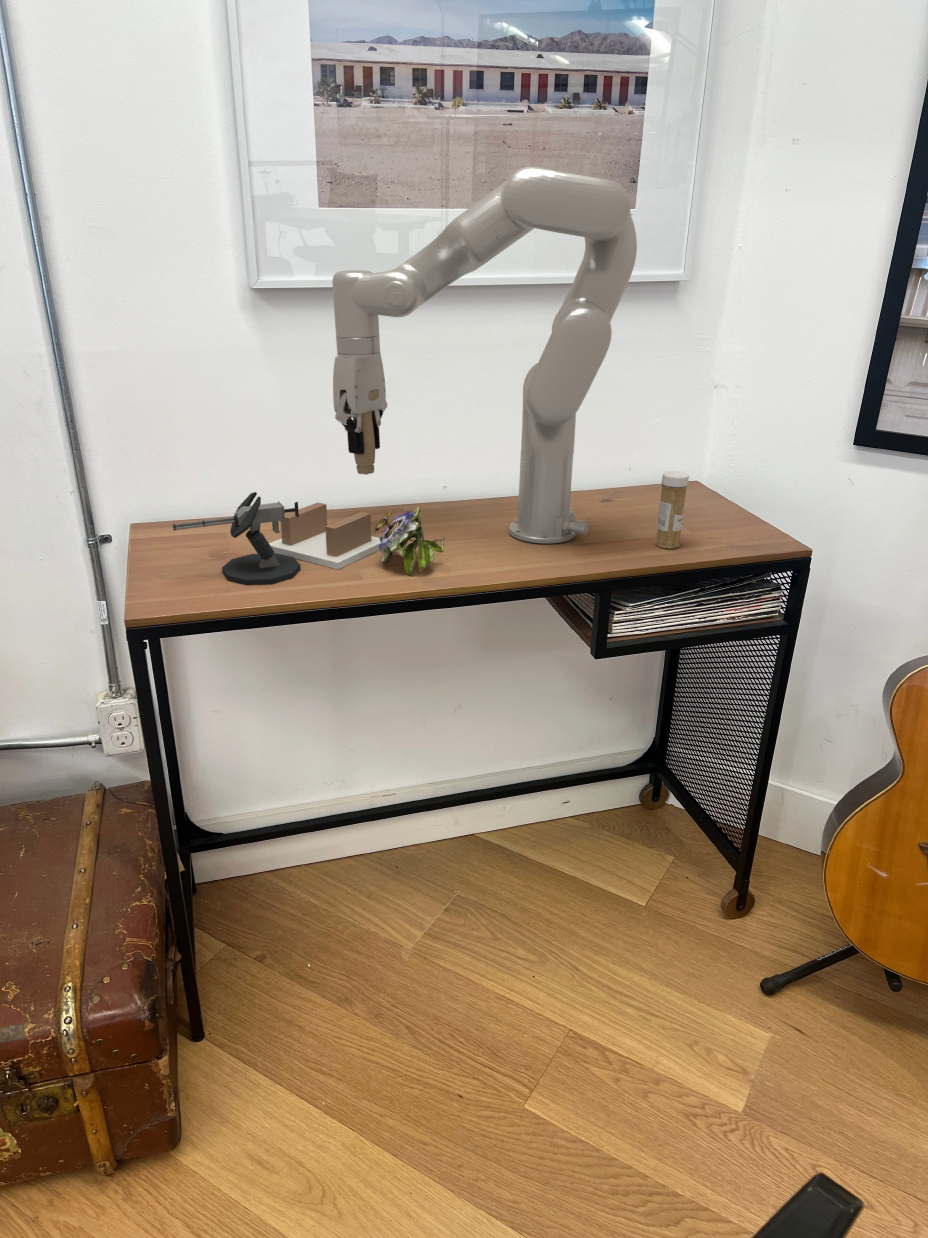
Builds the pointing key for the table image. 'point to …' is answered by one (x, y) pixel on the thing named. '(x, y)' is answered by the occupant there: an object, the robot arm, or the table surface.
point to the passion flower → (401, 534)
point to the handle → (367, 441)
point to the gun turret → (255, 543)
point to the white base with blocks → (326, 537)
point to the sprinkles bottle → (671, 509)
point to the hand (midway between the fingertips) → (364, 449)
